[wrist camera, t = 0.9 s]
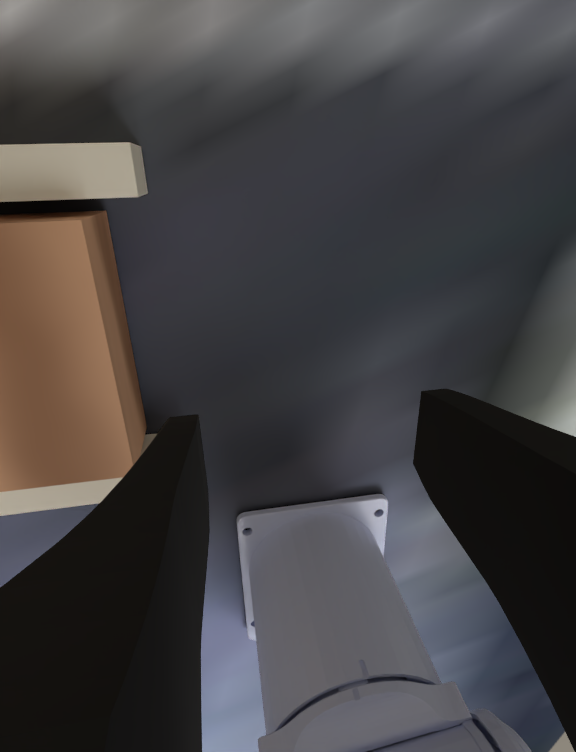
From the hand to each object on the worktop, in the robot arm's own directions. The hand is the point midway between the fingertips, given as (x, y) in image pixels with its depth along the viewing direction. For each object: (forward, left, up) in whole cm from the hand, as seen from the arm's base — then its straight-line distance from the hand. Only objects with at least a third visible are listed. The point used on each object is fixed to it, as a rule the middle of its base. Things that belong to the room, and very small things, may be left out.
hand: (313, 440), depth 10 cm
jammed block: (0, +8, -9) cm, 12 cm away
